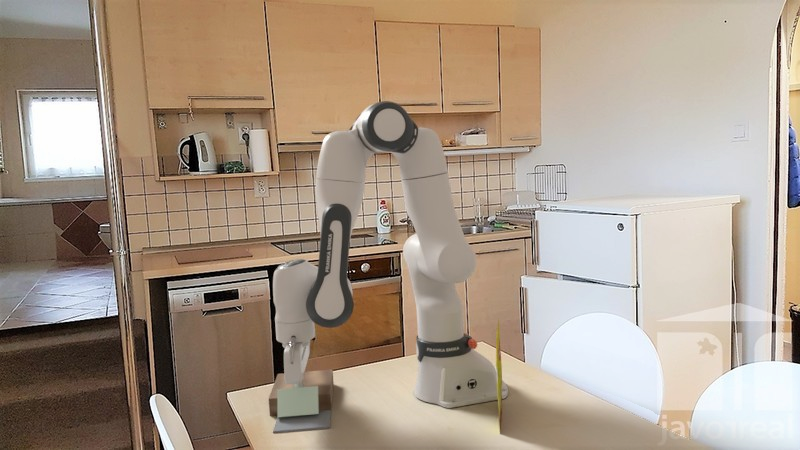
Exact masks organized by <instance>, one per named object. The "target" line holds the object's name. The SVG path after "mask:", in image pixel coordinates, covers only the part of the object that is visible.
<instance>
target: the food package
mask: <svg viewBox="0 0 800 450" xmlns="http://www.w3.org/2000/svg"><path fill="white" fill-rule="evenodd" d="M500 334H501V333H500V319H498V322H497V329H496V338H495V339H496V342H495V343H496V344H495V363H496V365H495V370H496V376H497V393H498V400H497V402H498V403H497V405H498V424H499V425H498V426H499V431H501V429H502V419H503V417H502V416H503V415H502V412H503V399H502V380H503V370H502V368H503V367H502V366H503V365H502V352H501V351H502V350H501V338H500V337H501V335H500Z"/></svg>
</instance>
